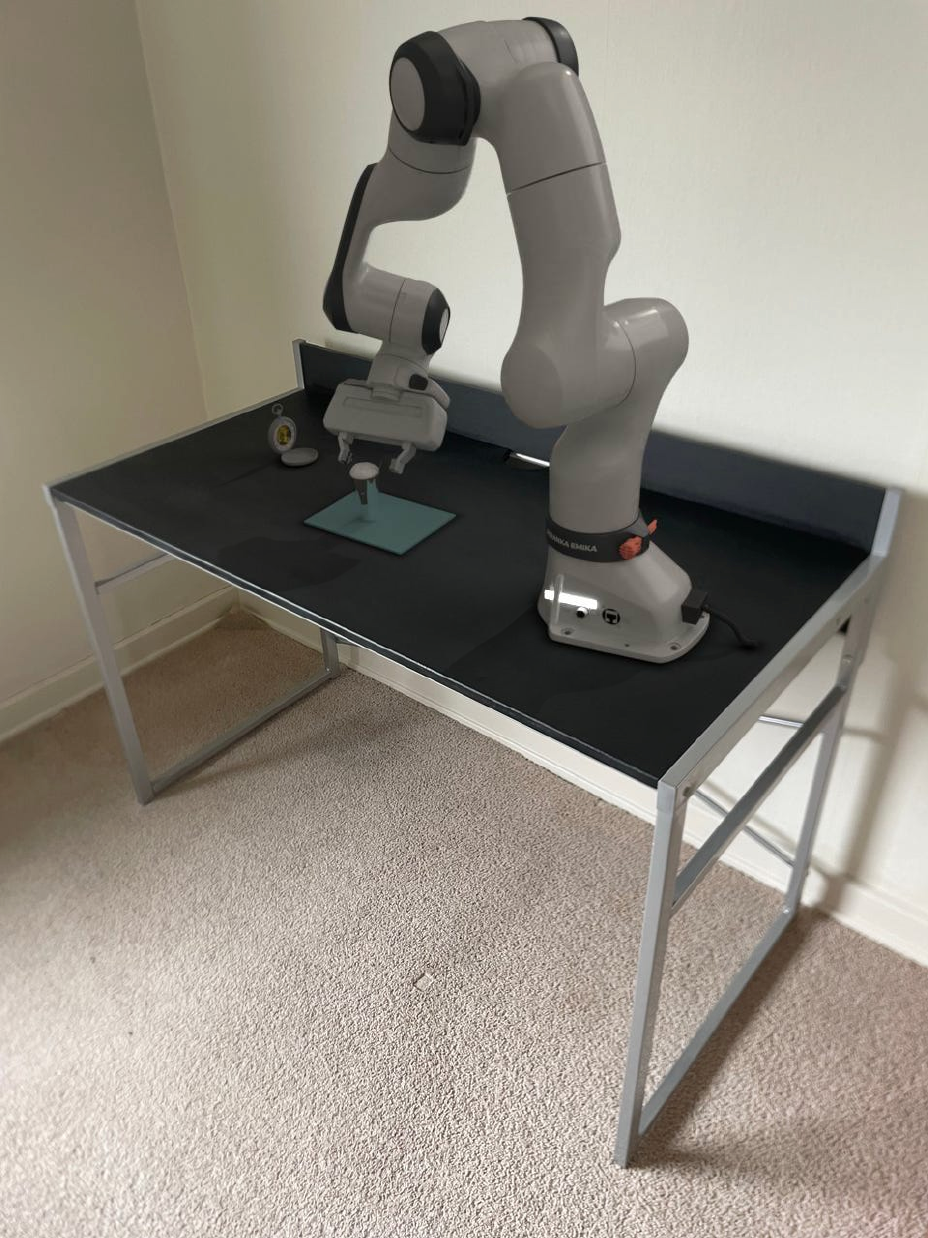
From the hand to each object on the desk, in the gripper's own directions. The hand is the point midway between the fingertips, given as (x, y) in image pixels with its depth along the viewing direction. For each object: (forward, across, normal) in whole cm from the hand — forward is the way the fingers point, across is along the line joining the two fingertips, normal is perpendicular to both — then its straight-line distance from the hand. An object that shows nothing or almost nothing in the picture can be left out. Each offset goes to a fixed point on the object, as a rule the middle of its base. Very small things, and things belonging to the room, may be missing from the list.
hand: (369, 467), depth 143 cm
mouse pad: (+6, +1, +6) cm, 9 cm away
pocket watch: (-4, -26, +16) cm, 31 cm away
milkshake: (+7, 0, +6) cm, 9 cm away
